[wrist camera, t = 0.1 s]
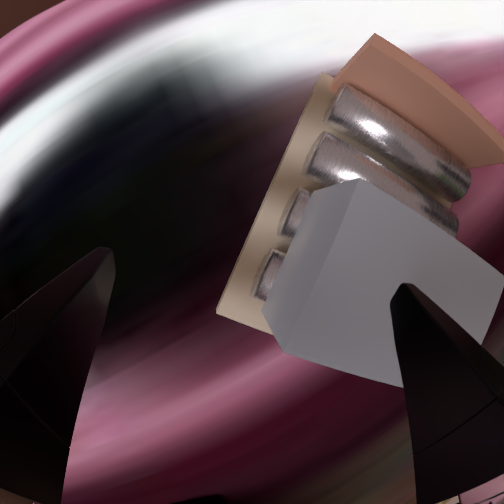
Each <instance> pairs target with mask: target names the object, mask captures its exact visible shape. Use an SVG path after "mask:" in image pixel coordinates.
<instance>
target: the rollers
mask: <svg viewBox="0 0 504 504" xmlns="http://www.w3.org/2000/svg"><path fill="white" fill-rule="evenodd" d="M323 123H325V124H327V125H329V126H331V127H333V128H334V129H336V130H338V131H340V132H342V133H343V134H345V135H347V136H349V137H351V138H352V139H354V140H356V141H358V142H359V143H361V144H363V145H364V146H366V147H368V148H369V149H371V150H373V151H374V152H376V153H378V154H379V155H381V156H382V157H384V158H386V159H387V160H389V161H390V162H392V163H393V164H395V165H397V166H398V167H400V168H401V169H403V170H404V171H406V172H407V173H409V174H410V175H412V176H413V177H414V178H416V179H417V180H419V181H420V182H422V183H423V184H425V185H426V186H427V187H429V188H430V189H432V190H433V191H434V192H436V193H437V194H438V195H440V196H441V197H442V198H444V199H445V200H446V201H448V202H451V203H453V202H456V201H458V200H460V199H461V198H462V197H463V196H464V195H465V194H466V192H467V190H468V189H469V186H470V183H471V174H470V171H469V170H468V169H467V168H466V167H465V166H464V165H463V164H462V163H460V162H459V161H458V160H457V159H456V158H454V157H453V156H452V155H451V154H450V153H448V152H447V151H446V150H445V149H443V148H442V147H441V146H440V145H438V144H437V143H436V142H434V141H433V140H432V139H430V138H429V137H428V136H426V135H425V134H424V133H422V132H421V131H420V130H418V129H417V128H416V127H414V126H413V125H411V124H410V123H409V122H407V121H406V120H404V119H403V118H401V117H400V116H398V115H397V114H395V113H394V112H392V111H391V110H389V109H388V108H386V107H385V106H383V105H382V104H380V103H378V102H377V101H375V100H374V99H372V98H370V97H369V96H367V95H365V94H364V93H362V92H360V91H359V90H357V89H355V88H353V87H352V86H350V85H348V84H346V83H343V84H342V85H341V86H340V87H339V89H338V90H337V91H336V93H335V95H334V96H333V98H332V100H331V102H330V103H329V105H328V108H327V110H326V112H325V115H324V119H323ZM301 174H302V176H304V177H306V178H308V179H310V180H312V181H314V182H316V183H318V184H320V185H322V186H324V187H329V186H332V185H336V184H339V183H342V182H346V181H349V180H352V179H356V178H359V177H360V178H362V179H363V180H365V181H367V182H368V183H370V184H372V185H374V186H375V187H377V188H379V189H380V190H382V191H384V192H385V193H387V194H389V195H390V196H392V197H393V198H395V199H397V200H398V201H400V202H401V203H403V204H405V205H406V206H408V207H409V208H411V209H412V210H414V211H416V212H417V213H419V214H420V215H422V216H423V217H425V218H426V219H428V220H429V221H431V222H432V223H434V224H435V225H437V226H438V227H439V228H441V229H442V230H444V231H445V232H447V233H448V234H449V235H451V236H452V237H454V238H455V236H456V234H457V231H458V225H459V223H458V218H457V216H456V214H454V213H453V212H452V211H451V210H449V209H448V208H447V207H445V206H444V205H443V204H441V203H440V202H438V201H437V200H436V199H434V198H433V197H431V196H430V195H429V194H427V193H426V192H424V191H423V190H422V189H420V188H419V187H417V186H416V185H414V184H413V183H411V182H410V181H408V180H407V179H405V178H404V177H402V176H401V175H399V174H398V173H396V172H395V171H393V170H391V169H390V168H388V167H387V166H385V165H383V164H382V163H380V162H379V161H377V160H375V159H374V158H372V157H370V156H369V155H367V154H365V153H364V152H362V151H360V150H358V149H357V148H355V147H353V146H352V145H350V144H348V143H346V142H344V141H343V140H341V139H339V138H337V137H335V136H334V135H332V134H330V133H328V132H326V131H323V132H321V133H320V135H319V136H318V137H317V139H316V140H315V142H314V143H313V145H312V147H311V149H310V151H309V153H308V155H307V157H306V159H305V162H304V165H303V168H302V173H301ZM311 196H312V193H311V192H309V191H307V190H305V189H303V188H301V187H298V188H297V189H296V190H295V191H294V192H293V194H292V195H291V197H290V199H289V200H288V202H287V204H286V206H285V208H284V210H283V212H282V215H281V217H280V220H279V223H278V227H277V235H278V236H280V237H282V238H284V239H287V240H289V241H291V242H292V240H293V238H294V235H295V233H296V231H297V228H298V226H299V224H300V221H301V219H302V217H303V214H304V212H305V210H306V207H307V205H308V203H309V200H310V198H311ZM285 256H286V254H285V253H283V252H281V251H278V250H276V249H274V248H270V249H269V250H268V251H267V253H266V254H265V256H264V257H263V259H262V261H261V263H260V265H259V267H258V270H257V272H256V274H255V277H254V280H253V283H252V287H251V292H250V296H251V297H252V298H254V299H257V300H259V301H262V302H264V303H265V301H266V298H267V296H268V294H269V292H270V290H271V287H272V285H273V283H274V281H275V278H276V276H277V274H278V272H279V269H280V267H281V265H282V263H283V260H284V258H285Z"/></svg>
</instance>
